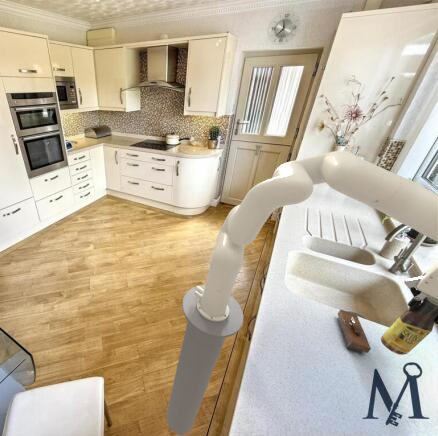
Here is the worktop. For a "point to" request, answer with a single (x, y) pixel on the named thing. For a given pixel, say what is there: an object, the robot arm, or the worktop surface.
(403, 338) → the sauce bottle
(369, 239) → the worktop surface
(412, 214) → the robot arm
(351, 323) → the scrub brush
